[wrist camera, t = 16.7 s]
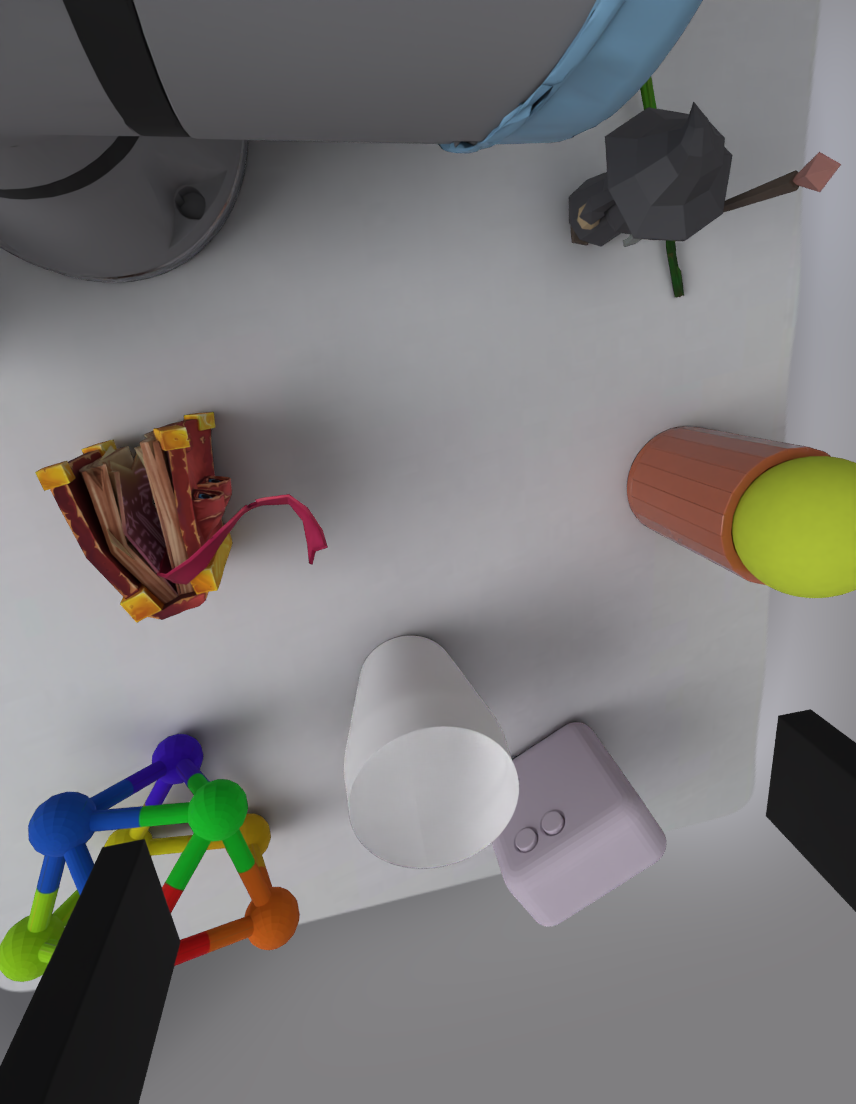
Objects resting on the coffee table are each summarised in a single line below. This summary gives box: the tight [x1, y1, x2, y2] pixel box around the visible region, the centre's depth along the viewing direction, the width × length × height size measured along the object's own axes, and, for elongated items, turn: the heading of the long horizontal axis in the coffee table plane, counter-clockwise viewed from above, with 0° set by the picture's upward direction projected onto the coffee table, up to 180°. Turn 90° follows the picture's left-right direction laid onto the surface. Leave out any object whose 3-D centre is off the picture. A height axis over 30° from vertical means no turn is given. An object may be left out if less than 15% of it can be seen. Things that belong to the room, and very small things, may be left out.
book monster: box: [35, 412, 328, 622], centre depth 30 cm, size 11×9×12 cm
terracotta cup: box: [627, 426, 831, 585], centre depth 34 cm, size 7×7×10 cm
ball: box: [732, 456, 856, 598], centre depth 28 cm, size 7×7×7 cm
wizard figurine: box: [569, 102, 841, 247], centre depth 27 cm, size 8×6×12 cm
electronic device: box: [492, 722, 666, 927], centre depth 40 cm, size 10×5×10 cm, turn 123°
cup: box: [344, 636, 519, 869], centre depth 35 cm, size 9×9×12 cm
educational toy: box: [0, 734, 300, 982], centre depth 33 cm, size 16×13×15 cm
